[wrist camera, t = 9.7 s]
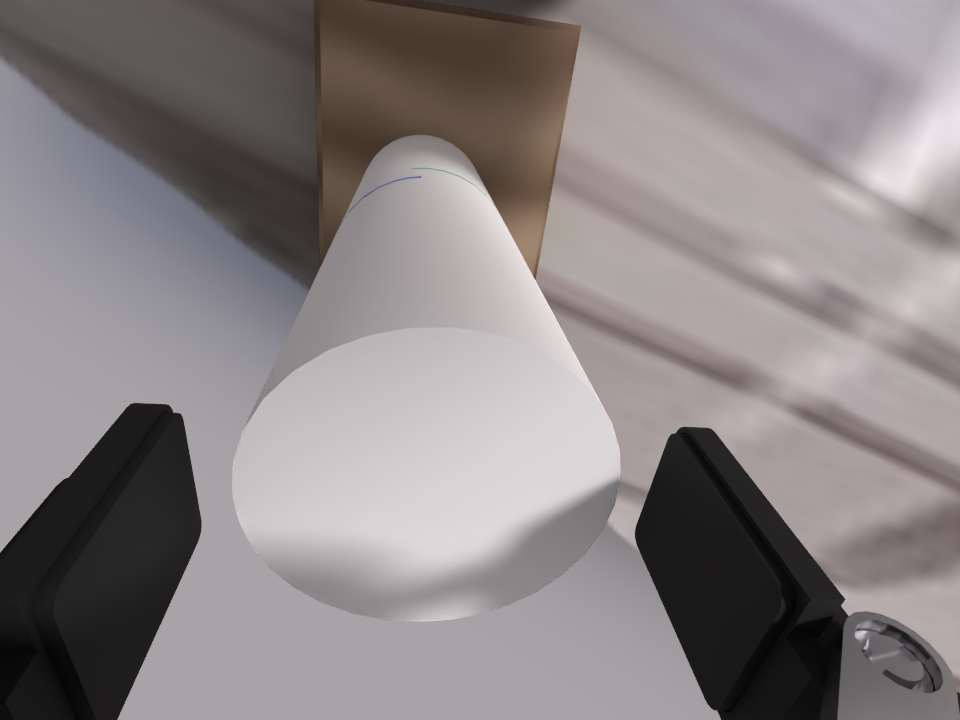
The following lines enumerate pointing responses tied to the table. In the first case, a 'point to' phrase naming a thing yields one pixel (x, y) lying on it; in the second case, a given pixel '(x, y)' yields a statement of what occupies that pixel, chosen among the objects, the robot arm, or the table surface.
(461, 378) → the cylindrical container
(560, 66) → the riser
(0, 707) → the robot arm
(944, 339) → the table surface
